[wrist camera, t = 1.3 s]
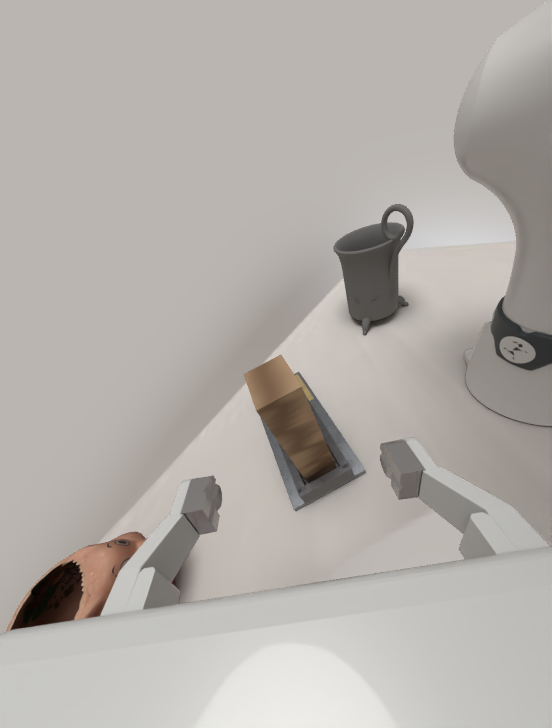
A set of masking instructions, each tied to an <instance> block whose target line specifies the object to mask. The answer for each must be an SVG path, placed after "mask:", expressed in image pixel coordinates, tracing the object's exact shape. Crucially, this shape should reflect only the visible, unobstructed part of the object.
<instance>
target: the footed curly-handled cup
mask: <svg viewBox="0 0 552 728" xmlns="http://www.w3.org/2000/svg"><path fill="white" fill-rule="evenodd" d="M393 211H399V212H401V213H402V214H403V215H404V216H405V218H406V221H407V229H406V232H405V235H404V236H403V234H404V231H405V228H404V226H403V225H401V224H399V223H387V219H388V216H389V215H390V213H392V212H393ZM412 229H413V216H412V214H411V212H410V210H409V209H408V208H407V207H406V206H404V205H401V204H395V205H392V206H391V207H389V208H388V209H387V210H386V211H385V213H384V215H383V217H382V222H381V223H380V224H374V225H370V226H367V227H363V228H360V229H358V230H355V231H353V232H351V233H349V234H347V235H345V236H343V237H342V238H340V239H339V240H338V241H337V242H336V243H335V245H334V251H335V252H336V253H337V255H338V256H339V259H340V262H341V265H342V270H343V276H344V282H345V289H346V295H347V301H348V307H349V313H350V315H351V316H352V317H353V318H355V319H357V320H361V321H362V328H363V335H366V333H367V330H368V327H369V325H370V322H371V321H374V320H379V319H383V318H385V317H387V316H389V315H391V314H392V313H394V312H395V311H396V309H397V307H398V304H401V305H403V306H407V305H408V302H405V299H404V298H403V297H401V296H398V254H399V252H400V250H401V249H402V247H403V246H404V244H405V243H406V242H407V240H408V239H409V237H410V235H411V233H412ZM402 236H403V238H402V239H401V237H402ZM400 239H401V241H400Z"/></svg>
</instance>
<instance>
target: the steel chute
mask: <svg viewBox="0 0 552 728" xmlns="http://www.w3.org/2000/svg"><path fill="white" fill-rule="evenodd" d="M294 375H295V377H296V378H297V380H298V382H299V383H300V385H301V386H302V388H303V391H304V393H305V395H306V398H307V400H308V402H309V405H310V407H311V409H312V411H313V414H314V416H315V418H316V421H317V423H318V425H319V428H320V430H321V432H322V434H323V437H324V439H325V441H326V444H327V446H328V448H329V451H330V453H331V455H332V457H333V460H334V462H335V464H336V467H337V468H336V469H334V470H332V471H331V472H329V473H327V474H325V475H323V476H321V477H320V478H318V479H316V480H314V481H312V482H310V483H309V484H308V483H307V481H306V480H305V478H304V477H303V475H302V474H301V473H300V471H299V470H298V468H297V467H296V466H295V464H294V463H293V461H292V460H291V459H290V457H289V456H288V454H287V453H286V452H285V450H284V449H283V447H282V446H281V445H280V443H279V442H278V440H277V439H276V438H275V436H274V435H273V433H272V432H271V431H270V429H269V428H268V426H267V425H266V424H265V422H264V421H263V419H262V418H261V420H262V422H263V425H264V428H265V431H266V434H267V436H268V439H269V442H270V445H271V447H272V450H273V453H274V456H275V459H276V461H277V464H278V467H279V470H280V472H281V475H282V478H283V481H284V484H285V486H286V489H287V492H288V495H289V498H290V500H291V503H292V506H293V509H294V510H295V511H297V510H298V509H300V508H302V507H304V506H306V505H308V504H309V503H311V502H313V501H315V500H317V499H319V498H320V497H322V496H324V495H326V494H328V493H329V492H331V491H333V490H335V489H337V488H339V487H340V486H342V485H344V484H346V483H348V482H349V481H351V480H353V479H355V478H357V477H359V476H360V475H362V474H364V473H366V470H365V469H364V467H363V466H362V464H361V463H360V461H359V460H358V458H357V457H356V455H355V454H354V452H353V451H352V449H351V448H350V446H349V445H348V444H347V442H346V441H345V439H344V438H343V436H342V435H341V433H340V432H339V430H338V429H337V427H336V426H335V424H334V423H333V421H332V420H331V418H330V417H329V416H328V414H327V413H326V411H325V410H324V408H323V407H322V405H321V404H320V402H319V401H318V399H317V398H316V396H315V395H314V393H313V392H312V390H311V389H310V387H309V386H308V385H307V383H306V382H305V380H304V379H303V377H302V376H301V374H300V373H299V372H298V373H296V374H294Z"/></svg>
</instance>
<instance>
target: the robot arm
mask: <svg viewBox="0 0 552 728" xmlns="http://www.w3.org/2000/svg"><path fill="white" fill-rule="evenodd" d="M454 148H455V154H456V158H457V161H458V163H459V165H460V167H461V169H462V170H463V171H464V173H465V174H466V175H467V176H468V177H469V178H470V179H472V180H474V181H476V182H478V183H480V184H482V185H483V186H485V187H486V188H487V189H489V190H490V191H491V192H493V193H494V194H495V195H496V196H497V197H498V198H499V200H500V201H501V202H502V203H503V205H504V206H505V208H506V209H507V211H508V213H509V214H510V217H511V219H512V222H513V225H514V229H515V233H516V253H515V259H514V264H513V269H512V273H511V277H510V281H509V285H508V288H507V291H506V295H505V296H504V297H503V298H502V299H501V300H500V302H499V303H498V306H497V307H496V309H495V311H494V313H493V316H492V321H491V322H489V323H486V324H485V325H484V326H483V327H482V330H481V332H480V334H479V337H478V339H477V341H476V344H475V346H474V347H473V348H470V349H468V350H466V352H465V354H464V359H465V361H466V364H467V371H466V375H465V380H466V384H467V387H468V389H469V390H470V392H471V393H472V394H473V396H474V397H475V398H476V399H477V400H478V401H480V402H481V403H482V404H483V405H485V406H486V407H488V408H490V409H491V410H493V411H495V412H497V413H499V414H501V415H503V416H506V417H508V418H511V419H514V420H517V421H521V422H525V423H530V424H535V425H543V426H552V0H548V1H546V2H545V3H543V4H542V5H541V6H539V7H538V8H537V9H535V10H534V11H533V12H531V13H530V14H528V15H527V16H526V17H525V18H523V19H522V20H520V21H519V22H518V23H516V24H515V25H514V26H512V27H511V28H510V29H508V30H507V31H506V32H504V33H503V34H502V35H500V36H499V37H498V38H497V39H496V41H495V42H494V43H493V45H492V46H491V48H490V49H489V50H488V52H487V53H486V55H485V56H484V58H483V59H482V61H481V63H480V64H479V66H478V68H477V70H476V71H475V73H474V75H473V77H472V78H471V80H470V82H469V84H468V87H467V89H466V91H465V93H464V96H463V98H462V101H461V104H460V107H459V110H458V114H457V118H456V123H455V129H454ZM380 449H381V451H382V454H381V455H380V461H381V465H382V468H383V470H384V473H385V475H386V476H387V477H388V478H390V479H391V486H392V488H393V490H394V492H395V494H396V496H397V497H398V499H399V500H400V499H407V498H414V497H419V499H420V500H422V501H423V502H424V503H425V504H427V505H428V506H429V507H430V508H432V509H433V510H434V511H435V512H437V513H438V514H439V515H440V516H442V517H443V518H444V519H445V520H447V521H448V522H449V523H450V524H452V525H453V526H454V527H456V528H457V529H458V530H459V531H460V532H462V533H463V534H464V535H463V538H462V541H461V544H460V547H459V550H460V552H461V553H462V555H463V557H464V558H465V560H459V561H452V562H446V563H439V564H434V565H427V566H420V567H414V568H407V569H401V570H395V571H388V572H381V573H375V574H369V575H363V576H355V577H349V578H343V579H336V580H330V581H323V582H317V583H310V584H304V585H297V586H291V587H284V588H278V589H272V590H265V591H259V592H252V593H246V594H239V595H233V596H226V597H220V598H214V599H207V600H201V601H194V602H188V603H181V604H178V603H179V598H180V594H181V593H180V591H179V589H177V588H176V587H175V586H174V585H173V584H172V581H173V580H174V578H175V576H176V575H177V573H178V571H179V570H180V568H181V566H182V565H183V563H184V561H185V560H186V558H187V556H188V555H189V553H190V551H191V550H192V548H193V546H194V545H195V543H196V541H197V540H198V538H199V535H201V534H206V533H211V532H216V531H217V528H218V522H219V514H218V512H217V511H218V509H219V508H220V507H221V503H222V492H221V488H220V486H219V485H217V484H215V481H216V479H215V478H214V476H208V477H202V478H196V479H190V480H184V481H182V482H181V483H180V485H179V488H178V491H177V494H176V497H175V500H174V503H173V506H172V509H171V512H170V514H169V517H165V519H164V520H163V521H162V522H161V523H160V524H159V526H158V527H157V528H156V529H155V530H154V531H153V533H152V534H151V535H150V536H149V537H148V538H147V540H146V541H145V542H144V543H143V544H142V546H141V547H140V548H139V549H138V550H137V551H136V553H135V554H134V555H133V556H132V557H131V558H130V560H129V561H128V562H127V563H126V564H125V565H124V567H123V568H122V569H121V570H120V571H119V573H118V576H117V578H116V580H115V583H114V585H113V587H112V590H111V592H110V594H109V596H108V599H107V601H106V603H105V606H104V608H103V610H102V613H101V615H100V616H98V617H91V618H85V619H78V620H72V621H66V622H59V623H53V624H47V625H40V626H34V627H27V628H20V629H14V630H9V631H6V632H4V633H2V634H0V728H552V546H549V545H548V544H547V543H546V542H545V541H544V540H543V539H542V538H541V536H540V535H539V534H538V533H537V532H536V531H535V530H534V529H533V528H532V527H531V526H530V525H529V524H528V523H527V521H526V520H525V519H524V518H523V517H522V516H521V515H520V514H519V513H518V512H517V511H516V510H515V509H514V507H513V506H511V505H509V504H507V503H506V502H504V501H502V500H500V499H498V498H497V497H495V496H493V495H491V494H489V493H488V492H486V491H484V490H482V489H481V488H479V487H477V486H475V485H473V484H472V483H470V482H468V481H466V480H464V479H463V478H461V477H459V476H457V475H455V474H454V473H452V472H450V471H448V470H446V469H445V468H443V467H442V468H439V467H438V466H437V464H436V463H435V462H434V461H433V459H432V458H431V457H430V455H429V454H428V453H427V452H426V450H425V449H424V448H423V446H422V445H421V444H420V443H419V441H418V440H417V439H416V438H414V437H412V438H408V439H403V440H402V439H401V440H396V441H391V442H386V443H381V445H380Z"/></svg>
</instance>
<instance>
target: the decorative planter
mask: <svg viewBox="0 0 552 728" xmlns="http://www.w3.org/2000/svg"><path fill="white" fill-rule="evenodd" d="M146 540H147V539H145V537H144V536H143V535H142V534H141V533H138V532H130V533H126V534H123V535H121V536H119V537H117V538H115V539H113V540H111V541H109V542H106V543H101V544H95V545H90V546H87V547H84V548H82V549H80V550H78V551H77V552H75V553H73V554H72V555H70V556H69V557H67V558H65V559H64V560H62V561H60V562H59V563H58V564H56V565H55V566H54V567H53V568H51V569H50V570H49V571H48V572H47V573H46V574H44V575H43V576H42V577H41V578H40V579H39V580H38V582H37V583H36V584H35V585H34V586H33V587H32V588H31V589H30V591H29V592H28V593H27V595H26V596H25V597H24V599H23V600H22V602H21V604H20V605H19V607H18V608H17V610H16V612H15V614H14V616H13V618H12V620H11V622H10V624H9V626H8V628H7V630H6V631H9V630H14V629H20V628H27V627H34V626H40V625H47V624H53V623H59V622H66V621H72V620H78V619H85V618H91V617H98V616H100V615H101V613H102V610H103V608H104V606H105V603H106V601H107V599H108V596H109V594H110V592H111V590H112V587H113V585H114V583H115V580H116V578H117V576H118V573H119V571H120V570H121V569H122V568H123V567H124V565H125V564H126V563H127V562H128V561H129V560H130V558H131V557H132V556H133V555H134V554H135V553H136V551H137V550H138V549H139V548H140V547H141V546H142V544H143V543H144V542H145V541H146ZM172 584H173V585H174V586H175V578H174V580H173V581H172Z"/></svg>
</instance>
